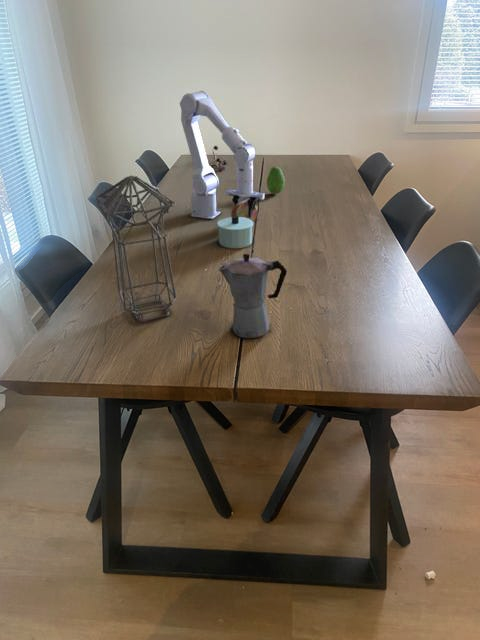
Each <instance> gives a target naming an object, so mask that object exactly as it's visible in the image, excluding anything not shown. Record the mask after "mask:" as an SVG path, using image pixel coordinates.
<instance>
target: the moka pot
mask: <svg viewBox="0 0 480 640" xmlns="http://www.w3.org/2000/svg"><path fill="white" fill-rule="evenodd" d="M277 269H278V270H280V273H279V277H278V279H277V283H276V288H275V290H274V292H273V293H271V294H268V295H267V297H268V299H277V298H279V295H280V292H281V290H282V286H283V283H284V281H285V279H286V275H287V268H286V267H285V265H282V263H281V262H280V261H279V260H274V261H264V260H263V259H262V258H258V257H250V254H249V253H244V254H242V257H241V258H236V259H232V260H231V261H230V262H229V263H225V264H222V266H220V267H219V268H218V271H219V272H220V273H221V274H222V276H223V277H224V279H225V281H226V283H227V284H228V285H229V289H230V294H231V296H232V297H233V302H234V303H233V304H232V305H233V317H232V331H233V332H234V334H235V335H236V336H238V337H240V338H242V339H243V338H245V339H255V338H259V337H262V336H265V334H267V333H268V332H269V329H270V323H269V322H270V321H269V317H268V312H267V307H266V302H265V299H266V295H265V294H266V291H267V283H268V282H267V281H268V272H269V271H274V270H277Z"/></svg>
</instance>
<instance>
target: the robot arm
mask: <svg viewBox="0 0 480 640" xmlns="http://www.w3.org/2000/svg"><path fill="white" fill-rule="evenodd" d="M179 106H180V109H181V111H180V112H181V113H180V122H181V126H182V129H183V132H184V136H185V141H186V143H187V147H188V151H189V153H190V157H191V160H192V164H193V168H194V171H193V173H192V176H191V177H192V188H193V192H192V193H191V196H190V208H191V210H190V211H191V214H190V217H194V218H199V219H200V218H201V219H207V220H214V219H215V218H217V216H219V215H220V214H221V211H219V210H218V211H217V196H216V194H217V188H218V187H219V184H220V181H219V178H218V176H217V175H216V173H215V168H214V169H212V168H211V167H212V166H210V165H209V160H208V157H207V153H206V150H205V146H204V142H203V139H202V136H201V131H200V127H199V124H198V122H199V119H200V118H201V117H206V118H207V119H208V120H209V121H210V122H211V123H212V124H213V125H214V127H215V128H216V129H217V130H218V131H219V132H220V133H221V139H222V141H223V142H224V143H225V145H226V146H227V147H228V148H229V149H230V151H231V152H232V153H233V159H234V161H235V163H236V182H237V184H236V185H237V187H236V188H237V189H226V192H225V196H226V197H233V198H231V201H232V202H233V204H234V206H235V205H236V204H237V203H240V202H242V201H244V200H243V199H244V198H246V199H249V200H248V207H249V218H251V217H252V215H253V211H254V207H255V205H256V203H257V201H258V202H259V200H260V201H264V199H265V193H264V192H263V193H262V192H259V191H255V190H254V159H255V158H256V155H257V151H256V149H255V147H254V144H252V143H249V142H248V141H247V140H245V138H243V137H242V136H241V134H240V133H239V132H240V130H239V129H238V128H235V127H234V126H230V125H229V124H228V123H227V121H226V120H225V119H224V117H223V116H222V114H221V112H220V111H219V110H218V109H217V107H216V106H215V104H214V100H213V99H212V98H211V97H210V96H209V93H207V92H206V91H204V90H200V91H196V92H192V93H190V92H189V93H185V94H184V95H183V96H182V98H181V99H180V102H179Z"/></svg>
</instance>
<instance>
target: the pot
mask: <svg viewBox="0 0 480 640" xmlns="http://www.w3.org/2000/svg"><path fill="white" fill-rule="evenodd" d="M252 243H253V226H252V227H251V228H249V229H246V230H240V231H229V230H224V229H221V228H219V227H218V244H219V245H220V246H222V247H223V248H227V249H243V248H247V247H249V246H250V245H252Z"/></svg>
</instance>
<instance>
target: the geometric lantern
mask: <svg viewBox="0 0 480 640" xmlns="http://www.w3.org/2000/svg"><path fill="white" fill-rule="evenodd" d="M135 183H136V184H137V185H138V186H140V187H141V188H142V190H139V191H138V189H137V186H136V184H135ZM114 189H115V190H114ZM113 190H114V191H113ZM128 190H129V192H128ZM111 191H113V192H112V193H111V194H108V193H110V192H111ZM133 191H134V192H135V194H133ZM128 193H129V195H127V194H128ZM143 193H145V194H143ZM140 194H143V196H142V197H141V196H140ZM149 194H150V195H152V196H153V197H154V198H156V199H157V200H158V201H159V206H158V207H154V208H150V209H145V206H144V203H143V201H144V200H145V199H146V197H148V195H149ZM100 198H102V199H105V201H104V202H103V201H102V199H100ZM119 198H120V199H119ZM124 198H125V203H122V200H123V199H124ZM133 198H136V204H133ZM118 199H119V201H117V200H118ZM128 199H129V204H128ZM95 200H96V202H97V204H98V206H99V209H100V210H101V212H102V215H103V217H104V218H105V221H107V223H108V226H109V227H110V229H111V234H112V245H113V253H114V265H115V273H116V281H117V292H118V296H119V298H120V301H121V304H122V307H123V310H124V311H125V312H129V313H132V314H133V315H134V317H135V318H136V320H137V322H139V323H143V322H147V321H153V320H155V319H160V318H164V317H168V316H169V315H170V310H169V309H170V307H171V306H172V305H173V304H174V303H175V302H176V300H177V294H176V289H175V283H174V282H175V281H174V277H173V276H174V275H173V270H172V265H171V259H170V253H169V247H168V241H167V237H168V234H167V233H166V231H165V230H164V215H166V214H169V210H170V208H173V207H174V206H176V205H177V203H176V202H175V201H173V200H171V199H170V198H169V197H167V196H166V195H164V194H163V193H161V191H160V188H158V187H157V186H154V185H153V184H150V183H149V182H148V181H145V180H144V179H141V178H140V177H139V176H137V175H129V176H125V177H124V178H122V179H121V180H119V181H118V182H117V183H116V184H114V185H112V186H111V187H109V188H108V189H106V190H105V191H102V193H100V194H99V195H97V196H96V197H95ZM115 204H117V205H116V208H115V210H114V211H113V212H111V210H112V209H113V207H114V205H115ZM139 205H140V208H141V209H140V208H139V207H138V206H139ZM119 206H122V207H123V210H122V211H118V208H119ZM127 208H129V210H127ZM133 208H136V209H133ZM156 211H157V212H156ZM110 212H111V213H110ZM153 212H156V213H154V214H153V215H152V216H150V217H148V213H153ZM136 213H140V214H141V215H142V216H143V217H144V219H145V220H144V221H140V222H136V219H135V215H134V214H136ZM127 214H128V215H130V216H131V218H132V220H133V222H132V221H130V220H129V219H126V218H125V217H124V216H125V215H127ZM120 215H121V216H120ZM109 216H112V217H114V218H117V219H118V220H119V223H118V227H115V228H114V226H113V224H112V222H111V220H110V219H109ZM156 217H158V220H157V222H152V220H153V219H155V218H156ZM123 222H125V223H127V224H129V225H124V226H122V223H123ZM160 223H161V225H160ZM145 225H149V226H150V231H151V232H150V233H151V239H149V238H148V239H142V240H137V241H130V242H125V241H126V238H127V237H128V235H129V233H130V232H131V230H132V229H133V228H134V227H138V226H145ZM126 228H129V229H128V231H127V233H126V234H125V235H124V237H123V239H122V236H121V229H126ZM159 229H160V230H161V235H160V231H159ZM116 231H117V232H116ZM155 235H156V236H157V238H155ZM162 240H163V243H164V249H165V253H166V254H165V255H166V259H167V265H168V270H169V276H170V281H171V286H170V284H169V279H168V273H167V268H166V263H165V257H164V252H163V246H162ZM116 241H117V242H116ZM156 241H158V247H159V253H160V258H161V262H162V263H161V264H162V269H163V275H164V281H160V280H159V270H158V269H159V268H158V260H157V259H158V258H157V251H156V243H155V242H156ZM148 242H152V250H153V259H154V268H155V277H156V279H155V280H156V281H152V282H147V283H142V284H136V285H133V283H132V278H131V277H132V276H131V272H130V265H129V259H128V254H127V249H126V246H127V245H132V244H139V243H148ZM117 251H118V254H117ZM123 254H124V256H123ZM118 261H119V263H118ZM124 263H125V264H124ZM124 265H125V267H126V272H127V278H128V284H129V286H128V287H127V285H126V274H125V267H124ZM120 281H121V282H120ZM159 284H161V285H164V286H163V288H162V290H161V291H160V293H159V294H158V291H159ZM150 285H156V289H155V293H154V294H150V295H146V296H143V297H142V296H141V297H139V298H135V295H134V289H135V288H141V287H146V286H150ZM171 287H172V288H171ZM165 289H166V290H167V296H168V303H167V302H166V301H165V299H164V298H163V297H162V296H161V295H162V294H163V292H164V290H165ZM128 290H130V293H129V291H128ZM126 294H127V296H128V298H127V297H126ZM171 295H172V297H173V299H172V297H171ZM151 297H154V300H150V301H146V302H142V303H137V304H136V301H139V300H143V299H147V298H151ZM157 297H158V299H157ZM127 302H129V307H130V308H127ZM155 302H160V304H157V305H152V306H146V307H141V308H137V307H138V306H142V305H147V304H152V303H155ZM151 309H153V310H151ZM146 310H149V311H146ZM162 310H165V314H163V315H158V316H155V317H150V318H147V319H144V315H145V314H146V315H147V314H150V313H151V314H152V313H154V312H158V311H162ZM142 311H143V312H142ZM140 317H141V319H140Z"/></svg>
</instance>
